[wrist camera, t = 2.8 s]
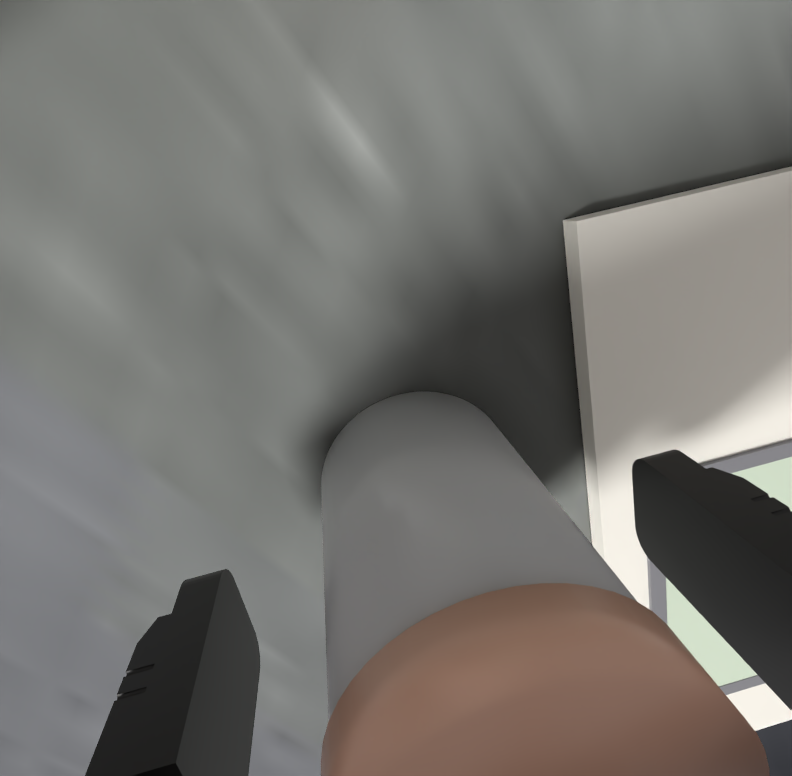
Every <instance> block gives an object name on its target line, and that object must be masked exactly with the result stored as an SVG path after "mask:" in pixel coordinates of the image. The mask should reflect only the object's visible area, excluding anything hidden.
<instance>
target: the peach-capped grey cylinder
mask: <svg viewBox="0 0 792 776" xmlns="http://www.w3.org/2000/svg"><path fill="white" fill-rule="evenodd" d="M321 500H322V531H323V562H324V594H325V625H326V656H327V688H328V719H329V722H328V725H327V729H326V733H325V736H324V740H323V746H322V756H321V776H769V765H768V761H767V757H766V752H765V749H764V747H763V745H762V743H761V741H760V739H759V737H758V735H757V733H756V732H755V730H754V729H753V728H752V727H751V725H750V724H749V723H748V721H747V720H746V719H745V718H744V716H743V715H742V714H741V713H740V712H739V710H738V709H737V708H736V707H735V706H734V704H733V703H732V702H731V701H730V700H729V698H728V697H727V696H726V695H725V694H724V692H723V691H722V690H721V689H720V688H719V686H718V685H717V684H716V683H715V681H714V680H713V679H712V678H711V677H710V675H709V674H708V673H707V672H706V671H705V669H704V668H703V667H702V666H701V665H700V663H699V662H698V661H697V660H696V659H695V657H694V656H693V655H692V654H691V653H690V651H689V650H688V649H687V648H686V647H685V645H684V644H683V643H682V642H681V641H680V639H679V638H678V637H677V636H676V635H675V633H674V632H673V631H672V630H671V629H670V627H669V626H668V625H667V624H666V623H665V622H664V621H663V620H662V619H661V618H659V617H658V616H657V615H656V614H655V613H654V612H653V611H651V610H650V609H648V608H646V607H645V606H643V605H642V604H640V603H638V602H637V600H636V599H635V598H634V597H633V595H632V594H631V593H630V592H629V590H628V589H627V588H626V587H625V585H624V584H623V583H622V582H621V580H620V579H619V578H618V577H617V575H616V574H615V573H614V572H613V570H612V569H611V568H610V567H609V566H608V564H607V563H606V562H605V561H604V559H603V558H602V557H601V556H600V554H599V553H598V552H597V551H596V549H595V548H594V547H593V546H592V544H591V543H590V542H589V541H588V539H587V538H586V537H585V536H584V534H583V533H582V532H581V531H580V529H579V528H578V527H577V526H576V525H575V523H574V522H573V521H572V520H571V518H570V517H569V516H568V515H567V513H566V512H565V511H564V510H563V508H562V507H561V506H560V505H559V503H558V502H557V501H556V500H555V498H554V497H553V496H552V495H551V493H550V492H549V491H548V490H547V488H546V487H545V486H544V485H543V483H542V482H541V481H540V480H539V479H538V477H537V476H536V475H535V474H534V472H533V471H532V470H531V469H530V467H529V466H528V465H527V464H526V462H525V461H524V460H523V459H522V457H521V456H520V455H519V454H518V452H517V451H516V450H515V449H514V447H513V446H512V445H511V444H510V442H509V441H508V440H507V439H506V437H505V436H504V435H503V434H502V433H501V431H500V430H499V429H498V428H497V426H496V425H495V424H494V423H493V421H492V420H491V419H490V418H489V417H488V416H487V415H486V414H485V413H484V412H483V411H482V410H480V409H479V408H477V407H476V406H474V405H473V404H471V403H469V402H467V401H465V400H463V399H461V398H458V397H455V396H452V395H449V394H444V393H439V392H427V391H422V392H409V393H404V394H399V395H395V396H392V397H389V398H386V399H384V400H381V401H379V402H377V403H375V404H373V405H371V406H370V407H368V408H366V409H365V410H363V411H362V412H360V413H359V414H358V415H357V416H355V417H354V418H353V419H352V420H351V421H350V422H349V423H348V424H347V425H346V426H345V427H344V428H343V429H342V430H341V432H340V433H339V434H338V436H337V437H336V438H335V440H334V442H333V443H332V445H331V447H330V449H329V451H328V454H327V456H326V459H325V461H324V466H323V470H322V478H321Z"/></svg>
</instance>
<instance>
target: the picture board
mask: <svg viewBox="0 0 792 776" xmlns="http://www.w3.org/2000/svg"><path fill="white" fill-rule="evenodd" d="M563 229H564V240H565V251H566V261H567V272H568V283H569V294H570V305H571V316H572V327H573V338H574V349H575V360H576V371H577V382H578V393H579V404H580V415H581V425H582V436H583V447H584V458H585V469H586V480H587V491H588V502H589V513H590V524H591V535H592V546H593V547H594V548H595V549H596V551H597V552H598V553H599V554H600V556H601V557H602V558H603V559H604V561H605V562H606V563H607V564H608V566H609V567H610V568H611V569H612V570H613V572H614V573H615V574H616V575H617V577H618V578H619V579H620V580H621V582H622V583H623V584H624V585H625V587H626V588H627V589H628V590H629V592H630V593H631V594H632V595H633V597H634V598H635V599H636V600H637V602H638V603H640V604H642V605H643V606H645V607H646V608H648V609H650V610H651V611H653V612H654V613H655V614H656V615H657V616H658V617H659V618H661V619H662V620H663V621H664V622H665V623H666V624H667V625H668V626H669V627H670V629H671V630H672V631H673V632H674V633H675V635H676V636H677V637H678V638H679V639H680V641H681V642H682V643H683V644H684V645H685V647H686V648H687V649H688V650H689V651H690V653H691V654H692V655H693V656H694V657H695V659H696V660H697V661H698V662H699V663H700V665H701V666H702V667H703V668H704V669H705V671H706V672H707V673H708V674H709V675H710V677H711V678H712V679H713V680H714V681H715V683H716V684H717V685H718V686H719V688H720V689H721V690H722V691H723V692H724V694H725V695H726V696H727V697H728V698H729V700H730V701H731V702H732V703H733V704H734V706H735V707H736V708H737V709H738V710H739V712H740V713H741V714H742V715H743V716H744V718H745V719H746V720H747V721H748V723H749V724H750V725H751V727H752V728H753V729H754V730H755V731H756V730H759V729H762V728H766V727H769V726H772V725H775V724H779V723H782V722H785V721H788V720H792V710H790V709H789V708H788V707H787V706H786V705H785V704H784V702H783V701H782V700H781V699H780V698H779V697H778V696H777V695H776V694H775V693H774V692H773V691H772V690H771V689H770V688H769V686H768V685H767V684H766V683H765V682H764V681H763V680H762V679H761V678H760V677H759V676H758V675H757V674H756V673H755V672H754V671H753V669H752V668H751V667H750V666H749V665H748V664H747V663H746V662H745V661H744V660H743V659H742V658H741V657H740V656H739V655H738V653H737V652H736V651H735V650H734V649H733V648H732V647H731V646H730V645H729V644H728V643H727V642H726V641H725V640H724V639H723V637H722V636H721V635H720V634H719V633H718V632H717V631H716V630H715V629H714V628H713V627H712V626H711V625H710V624H709V623H708V622H707V620H706V619H705V618H704V617H703V616H702V615H701V614H700V613H699V612H698V611H697V610H696V609H695V608H694V607H693V606H692V604H691V603H690V602H689V601H688V600H687V599H686V598H685V597H684V596H683V595H682V594H681V593H680V592H679V591H678V590H677V588H676V587H675V586H674V585H673V584H672V583H671V582H670V581H669V580H668V579H667V578H666V577H665V576H664V575H663V574H662V573H661V571H660V570H659V569H658V568H657V567H656V566H655V565H654V564H653V563H652V562H651V561H650V560H649V558H648V557H647V556H646V554H645V552H644V551H643V549H642V547H641V545H640V543H639V540H638V537H637V534H636V529H635V516H634V499H633V482H632V465H633V463H634V461H635V460H636V459H640V458H644V457H647V456H651V455H655V454H659V453H662V452H666V451H670V450H679V451H681V452H682V453H684V454H685V455H687V456H688V457H690V458H691V459H693V460H694V461H696V462H697V463H699V464H700V465H701V466H703V467H704V468H706V469H707V468H711V467H713V468H716V469H719V470H722V471H725V472H728V473H731V474H734V475H737V476H740V477H742V478H744V479H746V480H748V481H749V482H751V483H752V484H754V485H755V486H757V487H758V488H760V489H762V490H763V491H765V492H766V493H768V495H769V497H770V498H771V497H774V498H776V499H777V500H779V501H780V502H782V503H783V504H785V505H786V506H788V507H789V509H790V511H791V512H792V166H791V167H787V168H782V169H778V170H774V171H770V172H765V173H761V174H757V175H753V176H748V177H744V178H740V179H736V180H731V181H727V182H723V183H719V184H714V185H710V186H706V187H702V188H697V189H693V190H689V191H685V192H680V193H676V194H672V195H668V196H663V197H659V198H655V199H651V200H646V201H642V202H638V203H634V204H629V205H625V206H621V207H617V208H612V209H608V210H604V211H600V212H595V213H591V214H587V215H583V216H578V217H574V218H570V219H566V220H563Z"/></svg>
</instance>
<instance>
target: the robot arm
mask: <svg viewBox="0 0 792 776" xmlns="http://www.w3.org/2000/svg"><path fill="white" fill-rule="evenodd" d="M632 482H633V499H634V516H635V529H636V534H637V537H638V540H639V543H640V545H641V547H642V549H643V551H644V552H645V554H646V556H647V557H648V558H649V560H650V561H651V562H652V563H653V564H654V565H655V566H656V567H657V568H658V569H659V570H660V571H661V573H662V574H663V575H664V576H665V577H666V578H667V579H668V580H669V581H670V582H671V583H672V584H673V585H674V586H675V587H676V588H677V590H678V591H679V592H680V593H681V594H682V595H683V596H684V597H685V598H686V599H687V600H688V601H689V602H690V603H691V604H692V606H693V607H694V608H695V609H696V610H697V611H698V612H699V613H700V614H701V615H702V616H703V617H704V618H705V619H706V620H707V622H708V623H709V624H710V625H711V626H712V627H713V628H714V629H715V630H716V631H717V632H718V633H719V634H720V635H721V636H722V637H723V639H724V640H725V641H726V642H727V643H728V644H729V645H730V646H731V647H732V648H733V649H734V650H735V651H736V652H737V653H738V655H739V656H740V657H741V658H742V659H743V660H744V661H745V662H746V663H747V664H748V665H749V666H750V667H751V668H752V669H753V671H754V672H755V673H756V674H757V675H758V676H759V677H760V678H761V679H762V680H763V681H764V682H765V683H766V684H767V685H768V686H769V688H770V689H771V690H772V691H773V692H774V693H775V694H776V695H777V696H778V697H779V698H780V699H781V700H782V701H783V702H784V704H785V705H786V706H787V707H788V708H789V709H790V710H792V512H791V511H790V509H789V507H788V506H786V505H785V504H783V503H782V502H780V501H779V500H777V499H776V498H774V497H771V498H770V497H769V495H768V493H766V492H765V491H763V490H762V489H760V488H758V487H757V486H755V485H754V484H752V483H751V482H749V481H748V480H746V479H744V478H742V477H740V476H737V475H734V474H731V473H728V472H725V471H722V470H719V469H716V468H713V467H711V468H707V469H706V468H704V467H703V466H701V465H700V464H699V463H697V462H696V461H694V460H693V459H691V458H690V457H688V456H687V455H685V454H684V453H682V452H681V451H679V450H670V451H666V452H662V453H659V454H655V455H651V456H647V457H644V458H640V459H636V460H635V461H634V463H633V465H632ZM126 673H127V676H126V677H124V678H123V681H122V683H121V686H120V688H119V691H118V693H117V701H114V703H113V706H112V709H111V711H110V714H109V716H108V719H107V721H106V724H105V726H104V729H103V731H102V734H101V736H100V739H99V742H98V744H97V747H96V749H95V752H94V754H93V757H92V759H91V762H90V764H89V767H88V769H87V772H86V775H85V776H248V773H249V763H250V754H251V745H252V736H253V727H254V718H255V709H256V700H257V691H258V682H259V673H260V653H259V646H258V641H257V637H256V633H255V630H254V628H253V625H252V623H251V620H250V618H249V615H248V613H247V610H246V608H245V605H244V603H243V600H242V598H241V595H240V593H239V590H238V588H237V585H236V583H235V580H234V578H233V576H232V574H231V572H230V571H229V570H227V569H224V570H221V571H217V572H213V573H210V574H206V575H202V576H199V577H195V578H191V579H187V580H185V581H184V582H183V583H182V585H181V587H180V590H179V593H178V596H177V599H176V602H175V605H174V608H173V611H172V614H169V615H165V616H162V617H158V618H157V619H156V621H155V622H154V623H153V624H152V626H151V627H150V628H149V629H148V631H147V632H146V633H145V634H144V636H143V637H142V638H141V639H140V641H139V642H138V643H137V645H136V648H135V650H134V653H133V655H132V658H131V660H130V663H129V665H128V668H127V670H126Z"/></svg>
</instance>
